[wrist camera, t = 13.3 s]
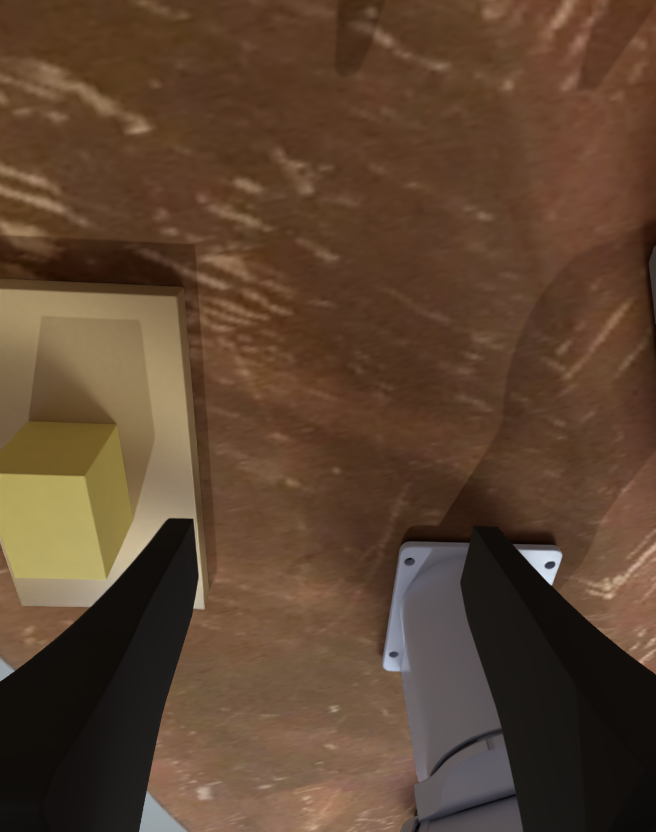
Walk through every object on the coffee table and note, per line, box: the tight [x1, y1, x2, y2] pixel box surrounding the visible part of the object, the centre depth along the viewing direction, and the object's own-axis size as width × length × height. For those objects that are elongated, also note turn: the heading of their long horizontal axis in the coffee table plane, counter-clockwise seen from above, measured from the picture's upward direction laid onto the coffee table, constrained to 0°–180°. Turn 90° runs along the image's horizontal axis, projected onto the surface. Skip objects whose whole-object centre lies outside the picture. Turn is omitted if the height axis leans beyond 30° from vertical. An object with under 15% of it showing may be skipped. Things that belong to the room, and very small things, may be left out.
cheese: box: [0, 421, 133, 580], centre depth 21 cm, size 5×4×4 cm
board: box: [0, 279, 209, 609], centre depth 23 cm, size 16×9×1 cm, turn 177°
